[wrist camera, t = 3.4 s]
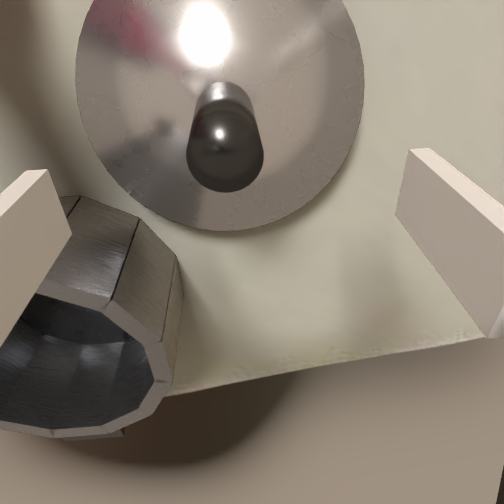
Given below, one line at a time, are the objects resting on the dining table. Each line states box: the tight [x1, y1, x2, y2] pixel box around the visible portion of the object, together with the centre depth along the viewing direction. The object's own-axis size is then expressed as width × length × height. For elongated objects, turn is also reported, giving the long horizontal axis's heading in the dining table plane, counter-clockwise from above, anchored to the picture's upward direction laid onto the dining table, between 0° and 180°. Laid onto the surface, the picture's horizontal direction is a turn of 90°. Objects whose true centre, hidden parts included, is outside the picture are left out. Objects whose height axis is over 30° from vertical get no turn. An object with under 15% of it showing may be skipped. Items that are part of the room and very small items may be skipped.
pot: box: [0, 196, 184, 441], centre depth 28 cm, size 21×16×9 cm
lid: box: [75, 0, 364, 231], centre depth 20 cm, size 17×17×10 cm
